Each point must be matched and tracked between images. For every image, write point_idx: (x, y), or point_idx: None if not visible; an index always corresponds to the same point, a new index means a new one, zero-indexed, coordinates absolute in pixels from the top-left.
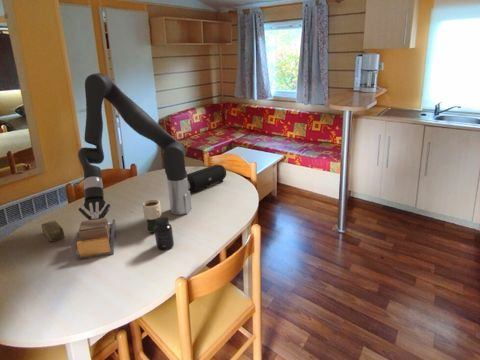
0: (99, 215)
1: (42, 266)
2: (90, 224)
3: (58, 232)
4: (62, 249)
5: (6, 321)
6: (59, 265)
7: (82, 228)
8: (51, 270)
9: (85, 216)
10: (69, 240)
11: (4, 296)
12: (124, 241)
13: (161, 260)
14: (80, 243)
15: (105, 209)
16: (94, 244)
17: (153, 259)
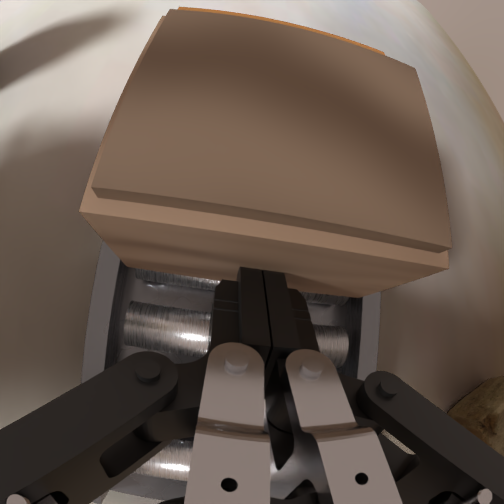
0: (194, 396)
1: (470, 168)
2: (333, 96)
3: (493, 401)
4: (441, 275)
5: (435, 21)
6: None
7: (398, 75)
8: (432, 120)
9: (404, 454)
10: (420, 373)
11: (486, 91)
12: (70, 188)
13: (33, 20)
14: (361, 46)
15: (40, 440)
16: None
17: (47, 26)
